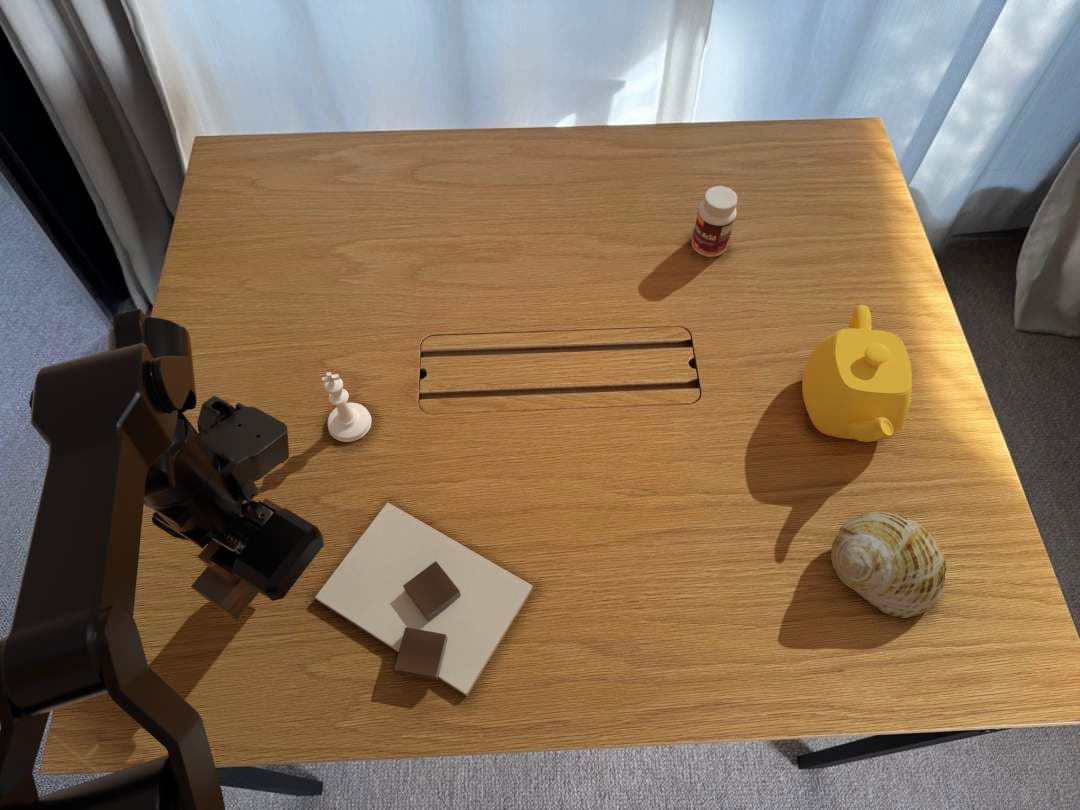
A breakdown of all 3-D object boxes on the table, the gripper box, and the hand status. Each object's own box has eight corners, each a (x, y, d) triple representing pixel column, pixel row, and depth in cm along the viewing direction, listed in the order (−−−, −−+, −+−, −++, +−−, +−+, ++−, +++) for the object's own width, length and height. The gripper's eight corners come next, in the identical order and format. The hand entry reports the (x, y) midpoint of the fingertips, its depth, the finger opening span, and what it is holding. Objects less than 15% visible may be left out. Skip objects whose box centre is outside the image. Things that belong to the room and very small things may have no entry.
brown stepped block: (239, 621, 69) (210, 596, 63) (203, 597, 71) (171, 570, 65) (310, 531, 74) (289, 500, 68) (275, 510, 75) (251, 478, 69)
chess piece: (325, 411, 88) (301, 361, 80) (367, 400, 89) (348, 349, 81) (331, 447, 86) (308, 399, 77) (375, 435, 87) (356, 386, 78)
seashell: (964, 599, 75) (968, 586, 67) (869, 634, 78) (860, 627, 70) (911, 506, 80) (908, 483, 72) (823, 542, 83) (810, 525, 74)
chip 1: (428, 621, 74) (426, 616, 73) (404, 590, 76) (402, 585, 75) (461, 595, 76) (459, 590, 74) (437, 565, 77) (435, 560, 76)
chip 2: (437, 681, 71) (435, 677, 70) (396, 673, 72) (393, 669, 71) (448, 638, 74) (446, 634, 72) (407, 631, 74) (405, 626, 73)
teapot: (905, 486, 83) (949, 437, 74) (801, 477, 83) (832, 426, 74) (884, 352, 92) (920, 293, 83) (791, 344, 93) (817, 285, 84)
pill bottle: (683, 244, 102) (693, 196, 95) (707, 226, 104) (719, 178, 96) (710, 263, 100) (723, 216, 93) (734, 245, 102) (748, 197, 95)
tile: (467, 696, 72) (466, 694, 71) (316, 600, 77) (314, 597, 76) (533, 589, 77) (533, 585, 76) (388, 505, 82) (387, 501, 81)
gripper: (343, 442, 57) (382, 526, 70) (161, 342, 62) (229, 437, 75) (241, 566, 52) (304, 631, 65) (52, 446, 57) (145, 529, 70)
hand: (245, 550), depth 69 cm, fingers closed on brown stepped block, 2 cm apart
